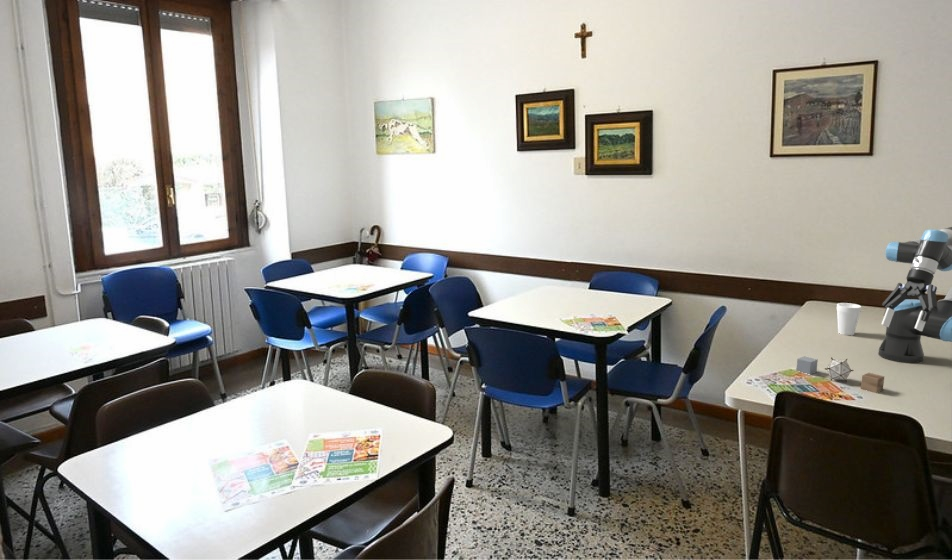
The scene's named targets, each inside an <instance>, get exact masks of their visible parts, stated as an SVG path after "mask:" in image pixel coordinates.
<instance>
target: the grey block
mask: <svg viewBox="0 0 952 560" xmlns="http://www.w3.org/2000/svg"><path fill="white" fill-rule="evenodd" d="M818 361H819V360H818V358H814V357H809V356H806V355H805V356H801V357H798V358H797V362H796V372H797V371H800V372H799V373H801V372H803V373H802V374H804V373H807V374H806V375H808V374H811V375H813V374H815V372H816V373H817V370H818ZM812 373H813V374H812Z"/></svg>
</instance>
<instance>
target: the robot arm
mask: <svg viewBox="0 0 952 560" xmlns="http://www.w3.org/2000/svg"><path fill="white" fill-rule="evenodd" d="M884 253H885V254H884V255H885V258H886V260H888V261H891V262H895V263H903V264H909V265H910V269H909V270H908V272H907V275H906V278H905V279H906V283H905V284H904V283H901V282H898V283H897V284H896V287H894V289H893V290H892V292H891V293H890V294H889V295H888V296H887V298H885V300H884V301H883V302H882V304H881V305H882V306H883V307H885V310H884V313H883V319H882V321H881V325H882V326H884V327H886V328H885V336H884V339H883V340H882V342H881V344H880V346H879V347H878V356H879V357H881V358H884V359H886V360H890V361H894V362H900V363H908V364H909V363H910V364H911V363H921V362H923V361H924V356H925V354H924V350H923V346H922V342H921V341H922V340H921V339H922V338H921V337H926V338H931V339H935V340H940V341H943V342H949V343H952V286H951V287H950V288H949V290H948V291H947V294H946V295H945V297H944V298H943V299H939V300H937V289H938V287H937V286H935V285H934V284H932V282H933V280H934V275H936V272H937V270H939V271H941V272H950V271H952V226H949V227H944V228H942V229H933V228H932V229H931V228H930V229H925V231H924V232H923V233H922V236H921V237H920V238H915V239H912V240H909V241H905V242H901V241H892V242H889V243H888V244H887V245H886V248H885V252H884ZM926 292H927V293H926ZM910 298H911V299H910ZM912 298H913V299H912ZM914 298H918V299H914Z"/></svg>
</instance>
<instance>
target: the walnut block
mask: <svg viewBox="0 0 952 560" xmlns="http://www.w3.org/2000/svg"><path fill="white" fill-rule="evenodd" d="M884 383H885V376H884V375H880V374H878V373H877V374H876V373H874V372H873V373H872V372H867V373H864V374H862V376H861V383H860V384H861V385H860V390H863V391H866V390H867V392H870V393H871V392H872V393H875V394H877V392H878V393H879V391H880V392H881V390H882V391H883V390H884V386H885V385H884Z"/></svg>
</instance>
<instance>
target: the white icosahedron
mask: <svg viewBox="0 0 952 560" xmlns="http://www.w3.org/2000/svg"><path fill="white" fill-rule="evenodd" d="M824 370H827V371H826V372H828V374H829V376H830V380H831V381H833V380H839V381H840V380H841V381H845V383H847V382H848V380H847V379H848V378H849V376H850V374H851V372H854V369H851V367H850V365H849V363H848V358H846V359H833V357H830V362H829V364H828V366H827V367H825V368H824Z"/></svg>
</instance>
